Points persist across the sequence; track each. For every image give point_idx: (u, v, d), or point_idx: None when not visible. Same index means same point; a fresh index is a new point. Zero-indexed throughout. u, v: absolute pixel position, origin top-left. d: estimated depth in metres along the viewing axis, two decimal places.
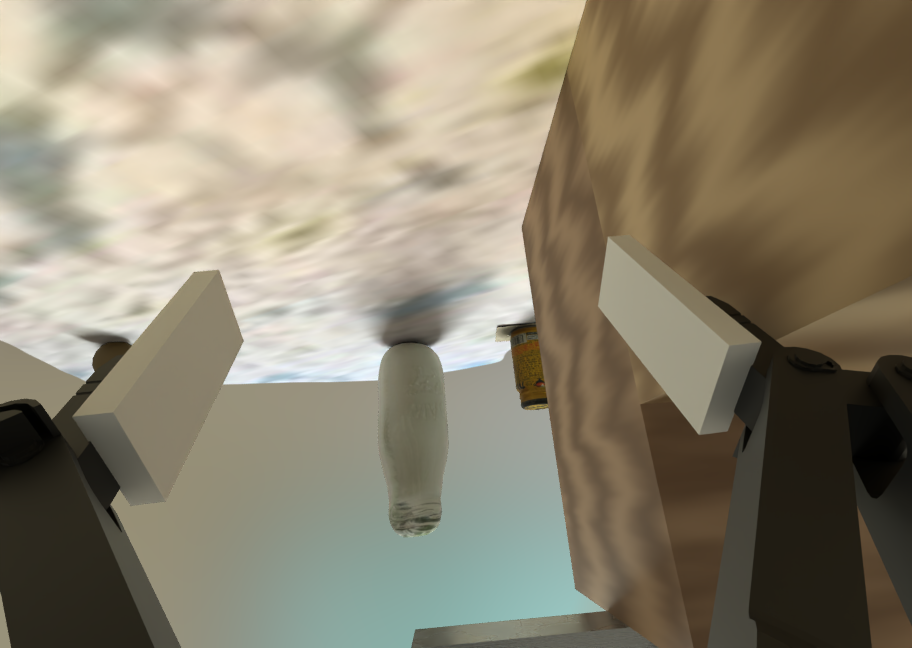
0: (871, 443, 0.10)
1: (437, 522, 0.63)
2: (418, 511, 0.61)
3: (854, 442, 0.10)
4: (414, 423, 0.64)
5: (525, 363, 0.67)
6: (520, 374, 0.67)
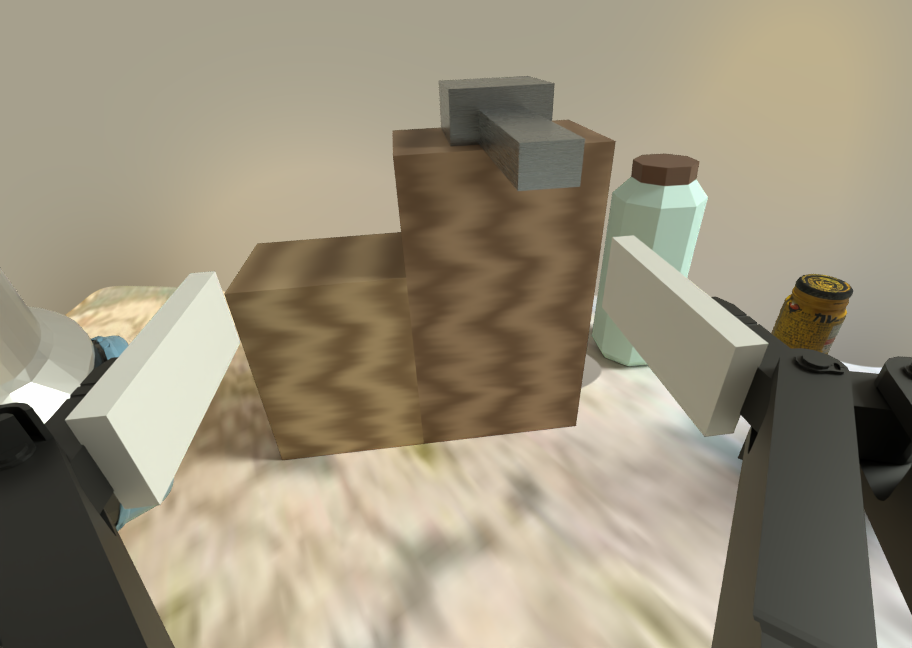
0: (878, 446, 0.09)
1: None
2: None
3: (862, 445, 0.10)
4: None
5: (796, 337, 0.54)
6: (812, 330, 0.52)
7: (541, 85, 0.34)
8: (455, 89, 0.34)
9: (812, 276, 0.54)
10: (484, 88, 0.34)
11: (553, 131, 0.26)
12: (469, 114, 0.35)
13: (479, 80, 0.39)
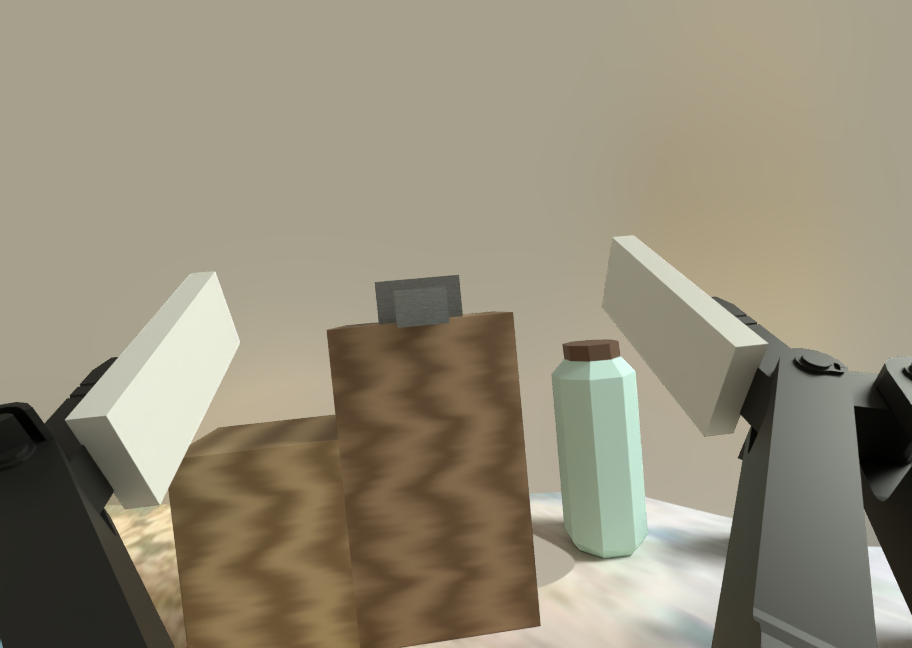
0: (879, 446, 0.09)
1: None
2: None
3: (861, 445, 0.10)
4: None
5: None
6: None
7: (448, 276, 0.44)
8: (380, 282, 0.43)
9: None
10: (403, 280, 0.43)
11: None
12: (392, 299, 0.43)
13: None
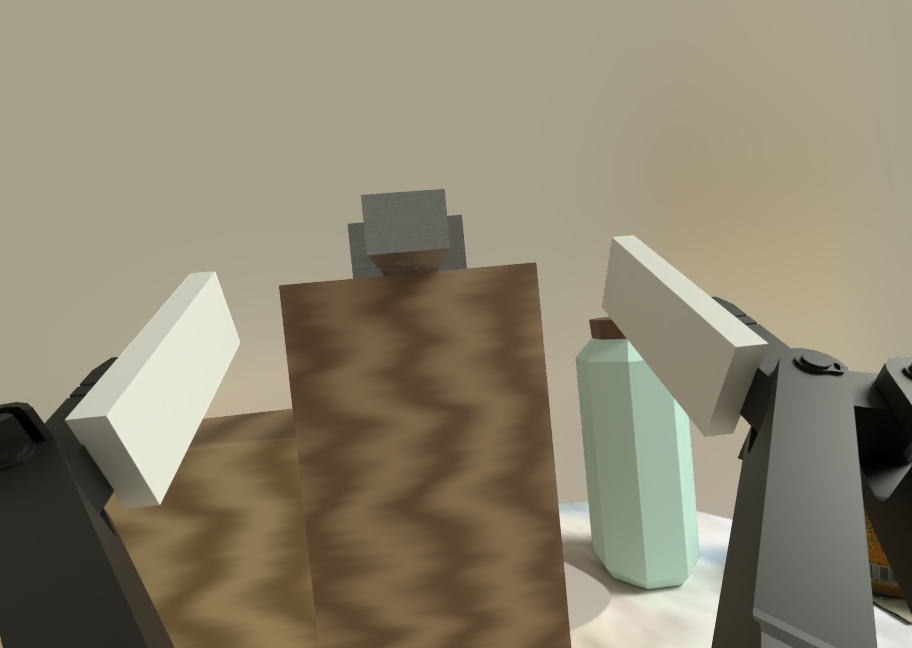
0: (878, 446, 0.09)
1: None
2: None
3: (862, 445, 0.10)
4: None
5: (869, 527, 0.38)
6: None
7: (447, 217, 0.32)
8: (355, 224, 0.32)
9: None
10: None
11: None
12: None
13: None
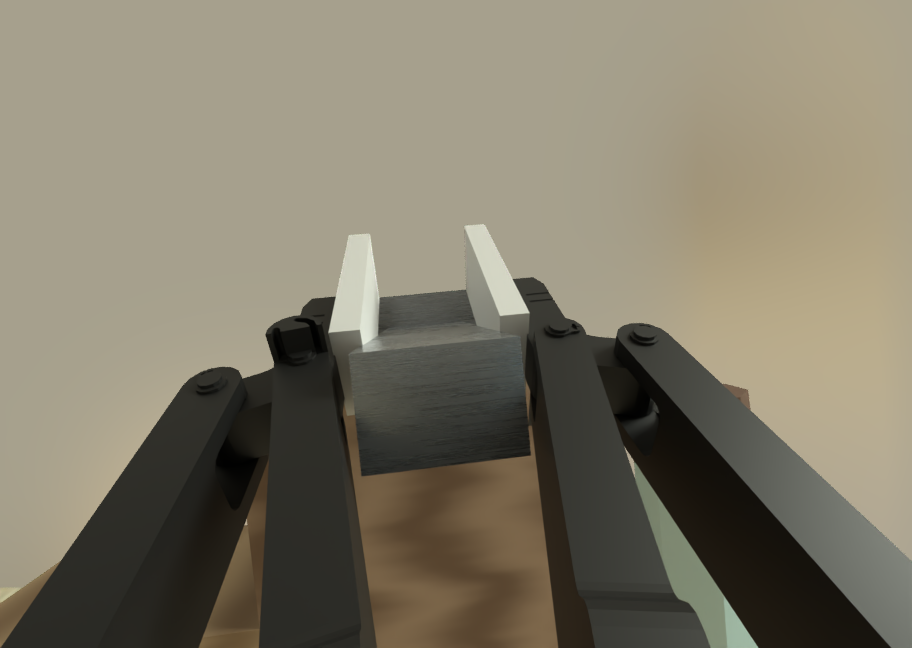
0: (615, 400, 0.11)
1: None
2: None
3: None
4: None
5: None
6: None
7: None
8: None
9: None
10: (394, 298, 0.22)
11: (462, 334, 0.12)
12: None
13: None
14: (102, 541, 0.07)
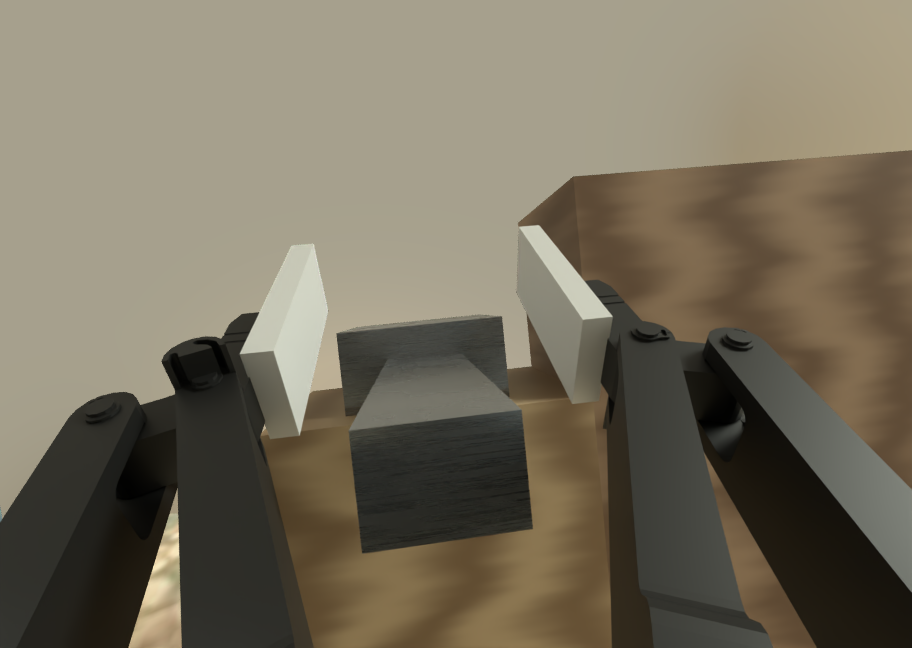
0: (704, 407, 0.11)
1: None
2: None
3: None
4: None
5: None
6: None
7: (482, 320, 0.22)
8: (348, 333, 0.22)
9: None
10: (393, 329, 0.22)
11: (463, 392, 0.12)
12: (372, 367, 0.22)
13: (408, 322, 0.28)
14: None
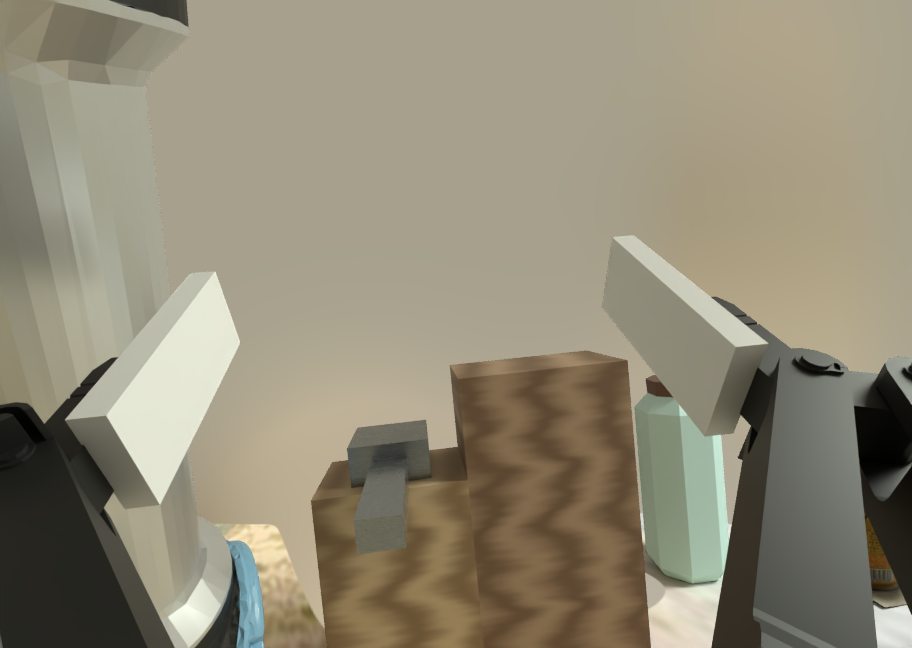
0: (879, 446, 0.09)
1: None
2: None
3: (862, 444, 0.10)
4: None
5: None
6: (869, 529, 0.52)
7: (417, 441, 0.46)
8: (352, 448, 0.45)
9: None
10: (374, 446, 0.46)
11: (391, 501, 0.35)
12: (364, 464, 0.45)
13: (385, 428, 0.52)
14: None
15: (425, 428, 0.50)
